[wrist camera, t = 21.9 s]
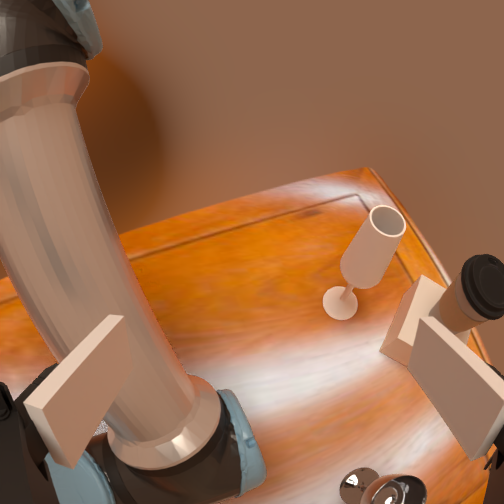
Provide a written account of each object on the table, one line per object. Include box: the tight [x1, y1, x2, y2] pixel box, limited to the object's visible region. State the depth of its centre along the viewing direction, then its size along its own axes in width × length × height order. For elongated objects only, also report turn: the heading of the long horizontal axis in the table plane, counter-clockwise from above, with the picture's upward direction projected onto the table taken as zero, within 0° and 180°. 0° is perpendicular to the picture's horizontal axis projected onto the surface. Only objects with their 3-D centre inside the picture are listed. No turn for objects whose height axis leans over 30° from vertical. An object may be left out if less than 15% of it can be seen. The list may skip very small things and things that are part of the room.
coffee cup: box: [428, 254, 504, 335], centre depth 36 cm, size 9×9×15 cm
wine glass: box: [340, 468, 427, 504], centre depth 29 cm, size 8×8×15 cm
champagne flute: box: [323, 205, 406, 320], centre depth 44 cm, size 7×7×24 cm
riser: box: [379, 275, 471, 367], centre depth 46 cm, size 13×13×8 cm
